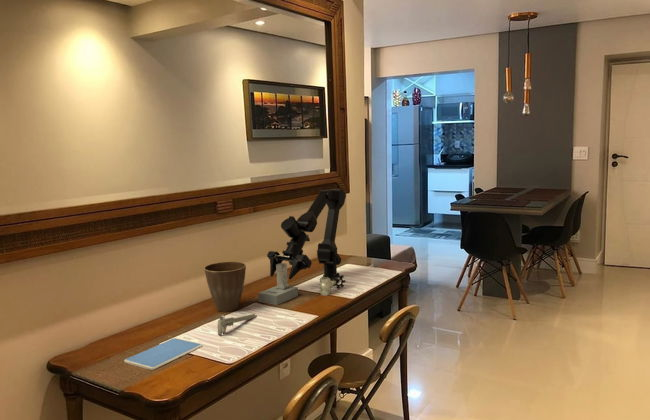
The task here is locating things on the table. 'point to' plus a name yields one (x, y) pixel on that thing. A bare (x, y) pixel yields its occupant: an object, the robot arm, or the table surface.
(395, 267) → the table surface
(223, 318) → the caliper
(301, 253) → the robot arm
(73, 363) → the table surface
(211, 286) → the plant pot
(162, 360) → the tablet computer
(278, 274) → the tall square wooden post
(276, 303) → the bore block
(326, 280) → the valve
